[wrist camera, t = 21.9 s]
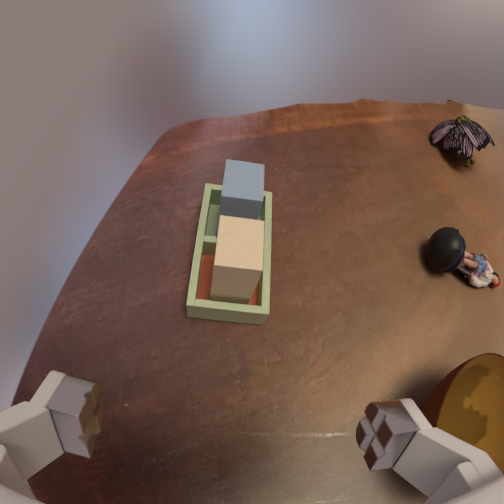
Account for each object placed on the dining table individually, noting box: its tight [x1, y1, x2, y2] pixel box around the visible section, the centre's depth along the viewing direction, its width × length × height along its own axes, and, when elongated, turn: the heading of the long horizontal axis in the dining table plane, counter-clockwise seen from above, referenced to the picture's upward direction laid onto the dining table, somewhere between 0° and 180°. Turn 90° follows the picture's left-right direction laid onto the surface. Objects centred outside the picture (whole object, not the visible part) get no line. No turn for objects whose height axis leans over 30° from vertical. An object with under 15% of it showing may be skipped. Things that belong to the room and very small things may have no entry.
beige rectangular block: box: [210, 215, 264, 305], centre depth 31 cm, size 4×5×9 cm
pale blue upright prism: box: [216, 159, 265, 237], centre depth 35 cm, size 4×5×9 cm
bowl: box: [421, 353, 504, 474], centre depth 26 cm, size 18×18×10 cm
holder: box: [186, 183, 272, 325], centre depth 36 cm, size 8×15×4 cm, turn 177°
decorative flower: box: [429, 115, 495, 167], centre depth 56 cm, size 15×12×15 cm
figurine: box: [426, 227, 500, 288], centre depth 41 cm, size 8×7×18 cm
